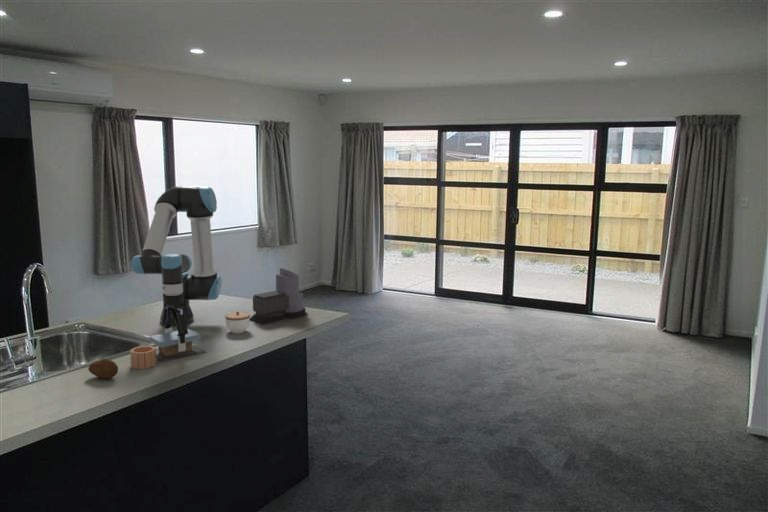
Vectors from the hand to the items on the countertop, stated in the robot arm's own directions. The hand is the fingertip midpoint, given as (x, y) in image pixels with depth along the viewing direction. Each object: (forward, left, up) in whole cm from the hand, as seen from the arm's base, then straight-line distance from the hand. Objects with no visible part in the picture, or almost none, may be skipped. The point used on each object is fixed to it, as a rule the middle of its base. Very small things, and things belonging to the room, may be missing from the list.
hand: (175, 347), depth 227 cm
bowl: (+6, -15, -2) cm, 16 cm away
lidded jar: (-9, +33, -2) cm, 34 cm away
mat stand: (0, 0, -2) cm, 2 cm away
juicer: (-18, +62, -2) cm, 64 cm away
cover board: (0, 0, +3) cm, 3 cm away
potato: (+10, -30, -2) cm, 32 cm away
